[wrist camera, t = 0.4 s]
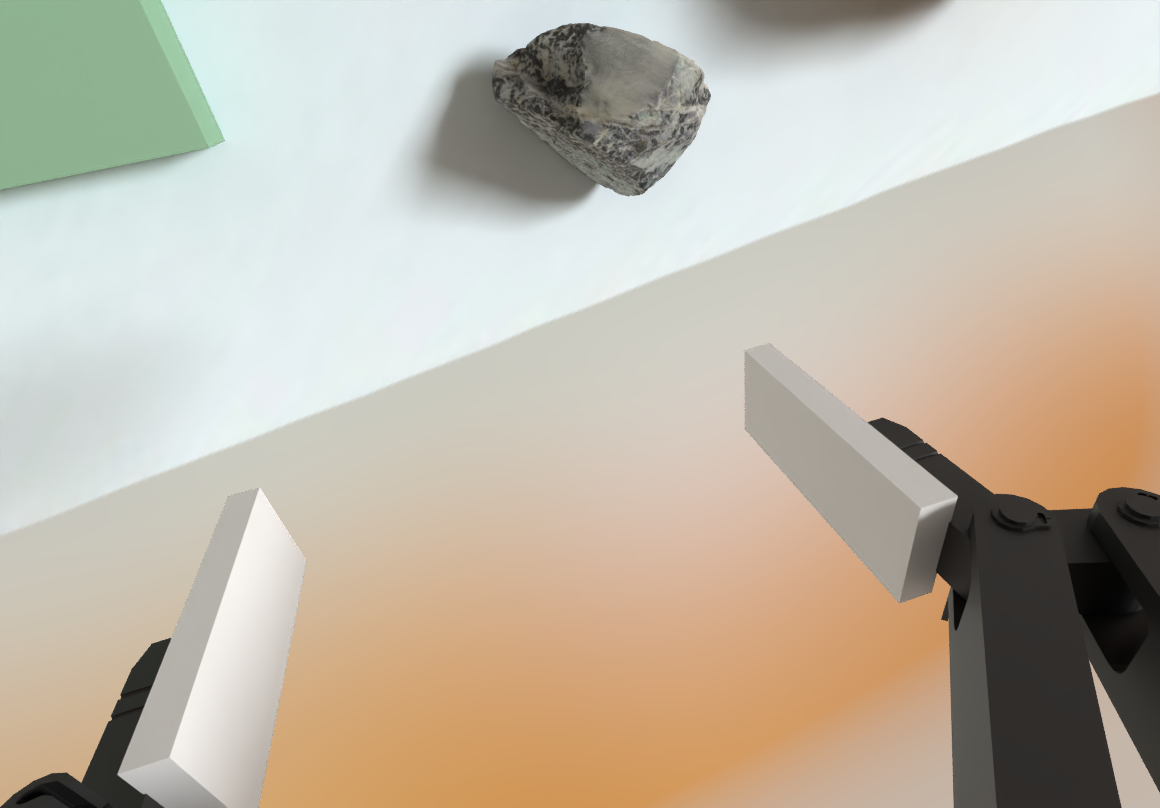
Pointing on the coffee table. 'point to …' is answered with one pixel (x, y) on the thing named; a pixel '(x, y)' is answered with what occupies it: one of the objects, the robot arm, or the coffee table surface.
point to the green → (94, 89)
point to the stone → (605, 101)
